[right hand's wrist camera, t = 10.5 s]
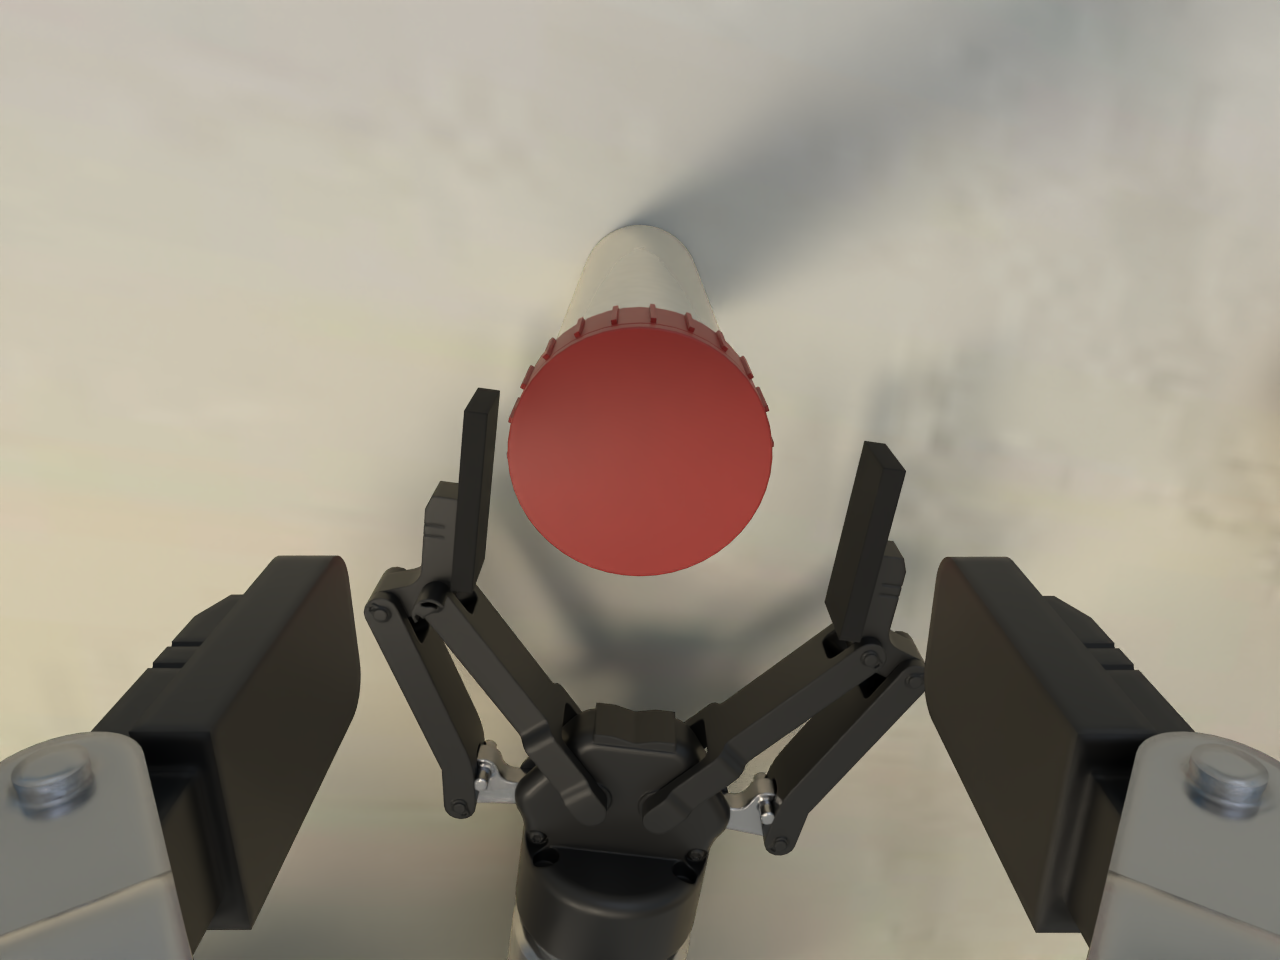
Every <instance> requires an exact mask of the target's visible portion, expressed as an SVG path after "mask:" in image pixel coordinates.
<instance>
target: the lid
mask: <svg viewBox="0 0 1280 960" xmlns="http://www.w3.org/2000/svg"><path fill="white" fill-rule="evenodd" d="M753 377H754V376H753V374H752V372H751V370H750V367H749V365H748V363H747V361H746V359H745V357H744V356H742V357H739V356H738V354H737V353H736V352H735V351H734V350H733V349H732V347H731V346H730V345H729V344H728V343H727V342H726V341H725V339H724V336H723V334H722V332H721V331H719V330H718V331H717V332H714V331H713V330H711V329H710V328H708V327H707V326H706V325H704V324H702V323H700V322H698V321H696V320H694V319H692V315H691V314H690V313H688V312H686V314H685V315H683V314H680V313H677V312H674V311H669V310H664V309H660V308H656V306H655V304H650V307H630V308H621V309H619V307H618V305H617V306H613V309H612V310H610V311H606V312H603V313H600V314H597V315H595V316H592V317H590V318H588V319H586V320H584V318H583V317H581V318H579V319H578V322H577V324H576V325H575V326H573V327H572V328H570V329H569V330H567V331H566V332H564V333H563V334H562V335H561V336H560V337H558V338H557V339H556V340H555V339H554V338H552V339H550V340H549V343H548V345H547V348H546V350H545V352H544V353H543V354H542V356H541V357H540V359H539V360H538V362H537V363H536V365H535V367H533V366H532V365H530V367H529V369H528V371H527V373H526V376H525V378H524V380H523V382H522V384H521V387H520V388H522V389H524V390H523V392H522V395H521V397H520V398H519V397H518V399H517V401H516V403H515V405H514V408H513V410H512V412H511V414H510V417H509V421H508V422H509V423H511V425H510V431H509V437H508V452H507V458H508V465H509V473H510V477H511V481H512V484H513V488H514V491H515V493H516V496H517V498H518V501H519V503H520V505H521V507H522V508H523V510H524V512H525V514H526V515H527V517H528V519H529V520H530V521H531V523H532V524H533V525H534V526H535V528H536V529H537V530H538V531H539V532H540V533H541V534H542V535H543V536H544V537H545V538H546V539H547V540H548V541H549V542H550V543H551V544H552V545H553V546H555V547H556V548H557V549H559V550H560V551H561V552H563V553H564V554H566V555H568V556H569V557H571V558H573V559H574V560H576V561H578V562H580V563H583V564H585V565H587V566H589V567H592V568H595V569H598V570H601V571H605V572H609V573H614V574H620V575H629V576H651V575H660V574H666V573H672V572H675V571H679V570H682V569H685V568H688V567H691V566H693V565H695V564H698V563H700V562H702V561H704V560H706V559H707V558H709V557H711V556H713V555H714V554H716V553H717V552H719V551H720V550H721V549H723V548H724V547H725V546H727V545H728V544H729V543H730V542H731V541H732V540H733V539H734V538H735V537H736V536H737V535H738V534H739V533H740V532H742V530H743V529H744V528H745V526H746V525H747V524H748V523H749V521H750V520H751V519H752V517H753V515H754V514H755V512H756V510H757V509H758V507H759V505H760V503H761V501H762V498H763V496H764V494H765V491H766V488H767V485H768V481H769V477H770V473H771V465H772V447H774V442H773V439H772V437H771V431H770V425H769V421H768V418H767V415H766V412H768V411H769V408H768V405H767V403H766V401H765V399H764V397H763V394H762V392H761V390H760V388H759V387H756V388H755V385H754V383H753V381H752V378H753Z"/></svg>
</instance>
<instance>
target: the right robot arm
mask: <svg viewBox="0 0 1280 960" xmlns="http://www.w3.org/2000/svg"><path fill="white" fill-rule="evenodd" d="M360 679H361V673H360V660H359V652H358V645H357V637H356V629H355V622H354V614H353V607H352V599H351V591H350V584H349V576H348V571H347V567H346V564H345V562H344V560H343V559H342V558H341V557H340V556H277V557H275V558H274V559H273V560H272V561H271V562H270V563H269V565H268V566H267V567H266V568H265V569H264V571H263V572H262V573H261V574H260V575H259V577H258V578H257V579H256V580H255V581H254V582H253V584H252V585H251V586H250V587H249V588H248V590H247V591H246V592H245V593H244V594H243V595H230V596H228V597H227V598H225V599H223V600H221V601H220V602H218V603H216V604H215V605H213V606H211V607H210V608H208V609H206V610H205V611H203V612H201V613H199V614H198V615H196V616H194V618H193V619H192V620H191V621H190V622H189V623H188V624H187V625H186V626H185V628H184V629H183V630H182V631H181V632H180V633H179V634H178V635H177V636H176V638H175V639H174V640H173V641H172V646H171V647H167V648H166V649H165V650H164V651H163V652H162V653H161V654H160V655H159V656H158V658H157V659H156V660H155V661H154V662H153V668H148V669H147V670H146V671H145V672H144V673H143V674H142V675H141V676H140V678H139V679H138V680H137V681H136V682H135V683H134V684H133V685H132V686H131V688H130V689H129V690H128V691H127V692H126V693H125V694H124V695H123V696H122V698H121V699H120V700H119V701H118V702H117V703H116V704H115V705H114V706H113V708H112V709H111V710H110V711H109V712H108V713H107V714H106V715H105V716H104V717H103V719H102V720H101V721H100V722H99V723H98V724H97V725H96V726H95V727H94V729H93V730H92V731H91V732H84V733H76V734H71V735H65V736H61V737H58V738H54V739H50V740H47V741H44V742H41V743H38V744H35V745H33V746H31V747H28V748H26V749H24V750H21V751H19V752H17V753H15V754H13V755H12V756H10V757H8V758H6V759H4V760H3V761H1V762H0V960H194V959H193V954H194V952H195V950H196V948H197V947H198V945H199V943H200V941H201V939H202V937H203V935H204V933H205V932H206V930H251V929H252V927H253V925H254V923H255V921H256V918H257V916H258V914H259V912H260V910H261V908H262V906H263V904H264V902H265V900H266V898H267V896H268V894H269V891H270V889H271V887H272V885H273V883H274V881H275V879H276V877H277V875H278V873H279V871H280V869H281V867H282V864H283V862H284V860H285V858H286V856H287V854H288V852H289V850H290V848H291V846H292V844H293V842H294V840H295V837H296V835H297V833H298V831H299V829H300V827H301V825H302V823H303V821H304V819H305V817H306V815H307V813H308V810H309V808H310V806H311V804H312V802H313V800H314V798H315V796H316V794H317V792H318V790H319V788H320V786H321V783H322V781H323V779H324V777H325V775H326V773H327V771H328V769H329V767H330V765H331V763H332V761H333V759H334V756H335V754H336V752H337V750H338V748H339V746H340V744H341V742H342V740H343V738H344V736H345V734H346V732H347V729H348V727H349V725H350V723H351V721H352V719H353V717H354V714H355V711H356V708H357V704H358V699H359V692H360ZM924 687H925V696H926V702H927V707H928V711H929V714H930V716H931V719H932V721H933V723H934V725H935V727H936V729H937V731H938V733H939V735H940V737H941V740H942V742H943V744H944V746H945V748H946V750H947V752H948V754H949V756H950V758H951V760H952V762H953V764H954V766H955V768H956V770H957V772H958V774H959V776H960V778H961V780H962V783H963V785H964V787H965V789H966V791H967V793H968V795H969V797H970V799H971V801H972V803H973V805H974V807H975V809H976V811H977V813H978V815H979V817H980V819H981V821H982V823H983V826H984V828H985V830H986V832H987V834H988V836H989V838H990V840H991V842H992V844H993V846H994V848H995V850H996V852H997V854H998V856H999V858H1000V860H1001V862H1002V864H1003V866H1004V869H1005V871H1006V873H1007V875H1008V877H1009V879H1010V881H1011V883H1012V885H1013V887H1014V889H1015V891H1016V893H1017V895H1018V897H1019V899H1020V901H1021V903H1022V905H1023V907H1024V909H1025V912H1026V914H1027V916H1028V918H1029V920H1030V922H1031V924H1032V926H1033V928H1034V930H1035V932H1036V933H1081V934H1082V936H1083V938H1084V939H1085V941H1086V943H1087V945H1088V947H1089V951H1088V955H1087V959H1086V960H1280V762H1279V761H1277V760H1276V759H1274V758H1272V757H1270V756H1268V755H1267V754H1265V753H1263V752H1261V751H1259V750H1256V749H1254V748H1252V747H1249V746H1247V745H1245V744H1242V743H1239V742H1236V741H1233V740H1230V739H1226V738H1222V737H1219V736H1215V735H1209V734H1204V733H1196V732H1195V731H1194V730H1193V729H1192V728H1191V727H1190V726H1189V725H1188V724H1187V723H1186V721H1185V720H1184V719H1183V718H1182V717H1181V716H1180V715H1179V714H1178V713H1177V712H1176V710H1175V709H1174V708H1173V707H1172V706H1171V705H1170V704H1169V703H1168V702H1167V701H1166V699H1165V698H1164V697H1163V696H1162V695H1161V694H1160V693H1159V692H1158V691H1157V690H1156V688H1155V687H1154V686H1153V685H1152V684H1151V683H1150V682H1149V681H1148V680H1147V679H1146V677H1145V676H1144V675H1143V674H1142V673H1141V672H1140V671H1139V670H1134V664H1133V663H1132V662H1131V661H1130V660H1129V659H1128V658H1127V657H1126V655H1125V654H1124V653H1123V652H1122V651H1121V650H1120V649H1119V648H1115V647H1114V642H1113V641H1112V640H1111V639H1110V638H1109V637H1108V636H1107V635H1106V634H1105V632H1104V631H1103V630H1102V629H1101V628H1100V627H1099V626H1098V625H1097V624H1096V623H1095V621H1094V620H1093V619H1092V618H1091V617H1089V616H1087V615H1086V614H1084V613H1082V612H1080V611H1079V610H1077V609H1075V608H1074V607H1072V606H1070V605H1069V604H1067V603H1065V602H1063V601H1062V600H1060V599H1058V598H1057V597H1055V596H1042V595H1041V594H1040V592H1039V591H1038V590H1037V589H1036V588H1035V587H1034V585H1033V584H1032V583H1031V582H1030V581H1029V579H1028V578H1027V577H1026V576H1025V575H1024V574H1023V572H1022V571H1021V570H1020V569H1019V568H1018V567H1017V565H1016V564H1015V563H1014V562H1013V561H1012V560H1011V559H1010V558H1008V557H945V558H944V559H943V560H942V561H941V563H940V566H939V568H938V572H937V577H936V584H935V591H934V599H933V606H932V614H931V621H930V629H929V636H928V644H927V652H926V659H925V668H924Z"/></svg>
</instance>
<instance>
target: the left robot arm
mask: <svg viewBox="0 0 1280 960" xmlns="http://www.w3.org/2000/svg"><path fill="white" fill-rule="evenodd" d="M499 396H500V391H499V390H492V389H485V388H478V389H477V390H476V392H475V394H474V395H473V397H472V399H471V400H470V402H469V404H468V405H467V407H466V409H465V410H464V420H463V433H462V446H461V459H460V472H459V483H452V482H444V481H440V483H439V484H438V486H437V488H436V490H435V492H434V493H433V495H432V497H431V499H430V501H429V503H428V505H427V506H426V508H425V519H424V536H423V551H422V566H420V567H418V568H415V569H410V570H406V569H404V568H400V567H392V568H390V569H388V570H386V571H385V573H384V574H383V576H382V577H381V579H380V581H379V583H378V584H377V586H376V588H375V590H374V591H373V593H372V595H371V597H370V599H369V600H368V602H367V604H366V606H365V609H364V615H365V619H366V621H367V623H368V625H369V627H370V629H371V630H372V632H373V634H374V636H375V638H376V640H377V642H378V644H379V646H380V648H381V650H382V652H383V654H384V656H385V658H386V660H387V662H388V664H389V666H390V668H391V670H392V672H393V674H394V676H395V678H396V680H397V682H398V684H399V686H400V688H401V690H402V692H403V694H404V696H405V698H406V700H407V702H408V704H409V706H410V708H411V710H412V712H413V714H414V716H415V718H416V720H417V722H418V724H419V726H420V728H421V730H422V732H423V734H424V736H425V738H426V740H427V742H428V744H429V746H430V748H431V750H432V752H433V754H434V756H435V758H436V760H437V762H438V763H439V765H440V767H441V769H442V779H443V795H444V807H445V810H446V812H447V813H448V814H449V815H450V816H452V817H454V818H458V819H463V818H468V817H470V816H471V815H472V814H473V813H474V812H475V808H476V804H477V803H516V805H517V808H518V809H519V811H520V813H521V815H522V817H523V821H524V828H523V836H522V844H521V852H520V860H519V868H518V876H517V884H516V900H515V906H514V912H513V918H512V926H511V933H510V941H509V949H508V957H507V960H686V956H687V952H688V948H689V944H690V932H691V929H692V926H693V923H694V919H695V914H696V910H697V905H698V901H699V896H700V892H701V887H702V882H703V878H704V873H705V869H706V864H707V860H708V855H709V850H710V847H711V845H712V843H713V842H714V841H715V839H716V838H717V837H718V836H719V835H720V834H721V833H722V832H723V831H724V830H725V829H726V828H728V829H732V830H737V831H742V832H747V833H751V834H756V835H761V836H763V839H764V845H765V848H766V850H767V851H768V852H769V853H771V854H774V855H785V854H788V853H789V852H791V851H792V850H793V848H794V847H795V845H796V842H797V840H798V837H799V835H800V832H801V830H802V828H803V825H804V823H805V820H806V818H807V816H808V813H809V812H810V811H811V810H812V809H813V808H814V807H815V806H816V805H817V804H818V803H819V802H820V801H821V800H822V799H823V798H824V797H825V795H826V794H827V793H828V792H829V791H830V790H831V789H832V788H833V787H834V786H835V785H836V784H837V783H838V782H839V781H840V780H841V779H842V778H843V777H844V776H845V774H846V773H847V772H848V771H849V770H850V769H851V768H852V767H853V766H854V765H855V764H856V763H857V762H858V761H859V760H860V759H861V758H862V757H863V756H864V755H865V753H866V752H867V751H868V750H869V749H870V748H871V747H872V746H873V745H874V744H875V743H876V742H877V741H878V740H879V739H880V738H881V737H882V736H883V735H884V734H885V733H886V731H887V730H888V729H889V728H890V727H891V726H892V725H893V724H894V723H895V722H896V721H897V720H898V719H899V718H900V717H901V716H902V715H903V714H904V713H905V712H906V710H907V709H908V708H909V707H910V706H911V705H912V704H913V703H914V702H915V701H916V700H917V699H918V698H919V697H920V696H921V695H922V694H923V693H924V692H925V687H924V668H925V662H924V661H923V659H922V657H921V655H920V653H919V651H918V649H917V647H916V645H915V644H914V642H913V640H912V638H911V637H910V636H909V635H908V634H907V633H905V632H902V631H895V632H893V631H891V630H890V627H891V624H892V620H893V617H894V613H895V610H896V606H897V602H898V599H899V598H898V597H899V595H900V592H901V586H902V585H903V581H904V578H905V574H906V569H905V563H904V558H903V556H902V555H901V553H900V551H899V550H898V548H897V546H896V545H895V543H894V542H893V541H888V537H889V533H890V529H891V526H892V522H893V518H894V514H895V511H896V507H897V503H898V500H899V496H900V492H901V488H902V485H903V481H904V477H905V473H906V470H905V469H904V468H903V466H902V465H901V464H900V462H899V461H898V460H897V459H896V457H895V456H894V455H893V453H892V452H891V451H890V449H889V448H888V447H887V445H886V444H883V443H876V442H869V441H864V445H863V449H862V453H861V457H860V461H859V465H858V469H857V473H856V477H855V481H854V485H853V489H852V493H851V497H850V501H849V506H848V510H847V514H846V518H845V522H844V526H843V530H842V534H841V538H840V542H839V546H838V550H837V554H836V558H835V562H834V566H833V570H832V574H831V578H830V582H829V586H828V590H827V595H826V599H825V605H826V607H827V610H828V612H829V615H830V617H831V620H832V624H831V625H829V626H828V627H827V628H825V629H824V630H822V631H821V632H820V633H818V634H817V635H816V636H814V637H813V638H811V639H810V640H809V641H807V642H806V643H805V644H803V645H802V646H800V647H799V648H798V649H796V650H795V651H794V652H792V653H791V654H789V655H788V656H787V657H785V658H784V659H782V660H781V661H780V662H778V663H777V664H776V665H774V666H773V667H771V668H770V669H769V670H767V671H766V672H765V673H763V674H762V675H760V676H759V677H758V678H756V679H755V680H753V681H752V682H751V683H749V684H748V685H747V686H745V687H744V688H742V689H741V690H740V691H738V692H737V693H736V694H734V695H733V696H731V697H730V698H729V699H727V700H726V701H725V702H723V703H721V704H718V703H711V704H709V705H708V706H706V707H705V708H704V709H702V710H701V711H699V712H698V713H697V714H695V715H694V716H693V717H691V718H690V719H688V720H687V721H686V722H682V721H680V720H678V719H676V718H675V712H670V711H662V710H648V711H638V712H635V711H631V710H629V709H626V708H623V707H620V706H617V705H612V704H604V703H596V708H595V709H589V710H586V711H583V712H582V711H581V710H580V709H579V707H578V706H577V705H576V704H575V702H574V701H573V700H572V698H571V697H570V696H569V695H568V693H567V692H566V691H565V689H564V688H563V687H562V686H561V685H560V684H558V683H556V684H554V683H553V682H552V681H551V680H550V679H549V677H548V676H547V675H546V674H545V672H544V671H543V670H542V668H541V667H540V666H539V665H538V663H537V662H536V661H535V659H534V658H533V657H532V656H531V654H530V653H529V652H528V650H527V649H526V648H525V647H524V645H523V644H522V643H521V641H520V640H519V639H518V638H517V636H516V635H515V634H514V632H513V631H512V630H511V629H510V627H509V626H508V625H507V624H506V622H505V621H504V620H503V618H502V617H501V616H500V615H499V613H498V612H497V611H496V609H495V608H494V607H493V606H492V604H491V603H490V602H489V600H488V599H487V598H486V597H485V595H484V594H483V593H482V591H481V590H480V589H479V588H478V586H477V585H476V582H477V579H478V576H479V573H480V570H481V568H482V565H483V562H484V559H485V549H486V538H487V527H488V516H489V505H490V494H491V484H492V473H493V462H494V451H495V440H496V429H497V418H498V407H499ZM444 642H445V643H446V645H447V646H448V647H449V648H450V650H451V651H452V652H453V653H454V655H455V656H456V657H457V658H458V659H459V661H460V662H461V663H462V664H463V666H464V667H465V668H466V669H467V670H468V672H469V673H470V674H471V675H472V677H473V678H474V679H475V680H476V682H477V683H478V684H479V685H480V686H481V688H482V689H483V690H484V691H485V693H486V694H487V695H488V696H489V697H490V699H491V700H492V701H493V702H494V704H495V705H496V706H497V707H498V709H499V710H500V711H501V712H502V713H503V715H504V716H505V717H506V718H507V720H508V721H509V722H510V723H511V725H512V726H513V727H514V728H515V729H516V731H517V732H518V733H519V735H520V736H521V739H522V743H523V747H524V749H525V751H526V753H527V754H528V756H529V757H528V758H527V759H526V760H525V761H524V762H523V763H522V765H521V767H520V768H515V767H512V766H509V765H508V764H506V763H505V761H504V760H503V758H502V755H501V753H500V751H499V750H498V749H497V744H496V743H495V742H494V741H492V740H486V741H484V732H483V728H482V724H481V721H480V718H479V716H478V713H477V711H476V709H475V707H474V705H473V703H472V700H471V698H470V696H469V694H468V692H467V690H466V688H465V686H464V684H463V681H462V679H461V677H460V675H459V673H458V671H457V669H456V667H455V665H454V662H453V660H452V658H451V656H450V654H449V652H448V650H447V648H446V646H445V643H444ZM811 717H812V718H811ZM810 718H811V719H810ZM809 719H810V720H809ZM807 720H809V721H808V722H807V723H806V724H805V726H804V727H803V728H802V729H801V730H800V731H799V732H798V733H797V734H796V735H795V737H794V738H793V739H792V740H791V741H790V742H789V743H788V744H787V745H786V746H785V747H784V749H783V750H782V751H781V752H780V753H779V755H778V756H777V757H776V758H775V760H774V762H773V763H772V765H771V766H770V769H769V771H768V773H767V775H766V774H765V773H757V774H756V775H754V778H753V780H754V781H753V782H752V783H751V784H750V785H749V786H748V788H747V789H746V790H744V791H743V792H740V793H735V794H734V793H728V790H727V786H728V785H730V784H731V783H732V782H734V781H735V780H736V779H738V778H739V777H740V775H741V774H742V772H743V770H744V768H745V765H746V764H747V763H748V762H749V761H750V760H751V759H753V758H754V757H756V756H757V755H758V754H760V753H761V752H763V751H764V750H766V749H767V748H768V747H770V746H771V745H773V744H774V743H776V742H777V741H778V740H780V739H781V738H783V737H784V736H786V735H787V734H788V733H790V732H791V731H793V730H794V729H796V728H797V727H798V726H800V725H801V724H803V723H804V722H806V721H807ZM706 747H707V753H706V751H705V750H704V749H705V748H706Z"/></svg>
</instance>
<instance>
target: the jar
mask: <svg viewBox="0 0 1280 960" xmlns="http://www.w3.org/2000/svg"><path fill="white" fill-rule="evenodd" d="M650 304H655V306H656V308H660V309H664V310H669V311H674V312H677V313H680V314H683V315H685V314H686V312H688V313H690V314H691V315H692V319H694V320H696V321H698V322H700V323H702V324H704V325H706V326H707V327H708V328H710V329H711V330H713V331H714V332H717V331H718V330H719V331H720V328H719V326H718V323H717V320H716V318H715V315H714V313H713V310H712V307H711V305H710V302H709V300H708V297H707V294H706V292H705V289H704V287H703V284H702V282H701V279H700V276H699V274H698V271H697V269H696V266H695V263H694V261H693V259H692V257H691V255H690V253H689V252H688V250H687V248H686V247H685V246H684V245H683V244H682V243H681V242H680V241H679V240H678V239H677V238H676V237H674V236H673V235H672V234H670V233H668V232H666V231H665V230H662V229H660V228H657V227H653V226H648V225H632V226H627V227H623V228H620V229H618V230H616V231H614V232H612V233H610V234H608V235H607V236H606V237H604V238H603V239H602V240H601V241H600V242H599V243H598V244H597V245H596V246H595V247H594V248H593V250H592V252H591V253H590V255H589V257H588V259H587V261H586V263H585V266H584V269H583V271H582V274H581V276H580V279H579V282H578V284H577V287H576V289H575V292H574V295H573V297H572V300H571V302H570V305H569V308H568V310H567V313H566V315H565V318H564V320H563V323H562V326H561V328H560V331H559V333H558V336H557V338H558V337H560V336H561V335H562V334H563V333H564V332H566V331H567V330H569V329H570V328H572V327H573V326H575V325H576V324H577V322H578V319H579V318H581V317H583V318H584V320H586V319H588V318H590V317H592V316H595V315H597V314H600V313H603V312H606V311H610V310H612V309H613V306H617V305H618V307H619V309H621V308H630V307H650Z"/></svg>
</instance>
